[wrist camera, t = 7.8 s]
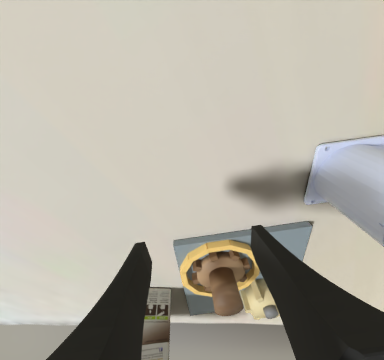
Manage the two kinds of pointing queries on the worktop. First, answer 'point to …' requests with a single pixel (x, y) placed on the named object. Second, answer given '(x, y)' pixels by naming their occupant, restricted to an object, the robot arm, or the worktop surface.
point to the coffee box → (157, 325)
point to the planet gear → (222, 279)
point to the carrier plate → (254, 284)
